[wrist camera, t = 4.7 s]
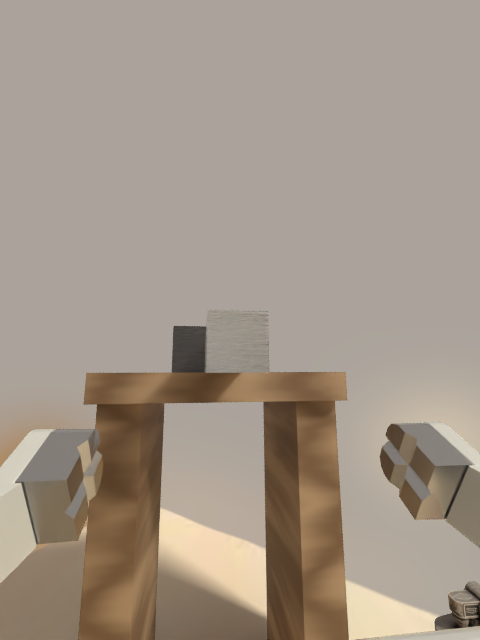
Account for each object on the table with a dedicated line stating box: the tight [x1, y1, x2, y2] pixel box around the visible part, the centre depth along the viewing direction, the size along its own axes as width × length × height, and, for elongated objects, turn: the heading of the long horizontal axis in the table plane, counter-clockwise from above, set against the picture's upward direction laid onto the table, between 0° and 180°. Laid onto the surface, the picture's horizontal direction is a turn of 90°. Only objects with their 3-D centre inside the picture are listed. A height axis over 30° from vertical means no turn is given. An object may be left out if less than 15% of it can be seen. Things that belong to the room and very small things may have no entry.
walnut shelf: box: [78, 372, 349, 640], centre depth 25 cm, size 18×14×26 cm
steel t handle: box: [172, 310, 269, 373], centre depth 21 cm, size 8×18×4 cm, turn 7°
